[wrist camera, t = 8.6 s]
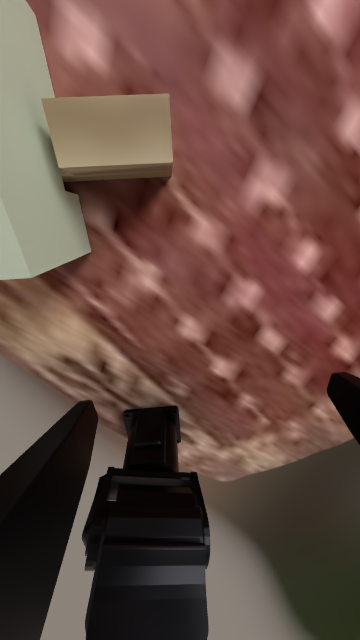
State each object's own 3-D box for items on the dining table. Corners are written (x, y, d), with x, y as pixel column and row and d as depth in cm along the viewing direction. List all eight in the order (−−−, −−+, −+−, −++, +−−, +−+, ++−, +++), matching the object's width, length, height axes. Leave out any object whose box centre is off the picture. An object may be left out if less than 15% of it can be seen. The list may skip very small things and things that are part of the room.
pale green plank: (91, 251, 16) (31, 277, 9) (58, 253, 16) (-29, 281, 9) (35, 15, 11) (-222, -385, 4) (-15, 17, 11) (-380, -390, 4)
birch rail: (171, 176, 14) (172, 162, 11) (-65, 188, 14) (-146, 177, 10) (168, 127, 13) (169, 93, 10) (-89, 138, 13) (-191, 107, 9)
